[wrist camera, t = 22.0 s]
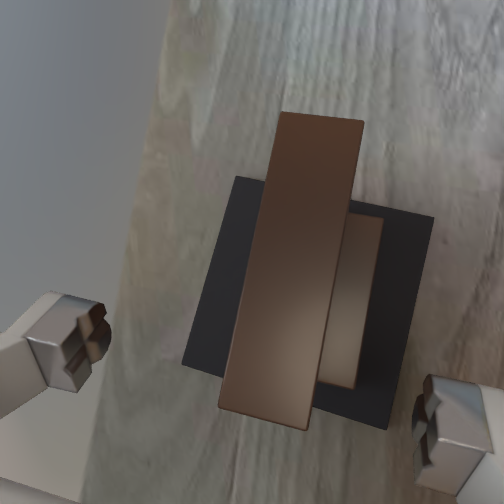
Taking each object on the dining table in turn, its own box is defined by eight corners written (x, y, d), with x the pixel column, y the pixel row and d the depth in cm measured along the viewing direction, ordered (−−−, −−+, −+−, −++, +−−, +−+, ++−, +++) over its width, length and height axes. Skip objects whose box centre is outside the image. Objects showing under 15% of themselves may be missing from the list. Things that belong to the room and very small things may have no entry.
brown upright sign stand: (353, 387, 17) (381, 452, 8) (236, 359, 18) (152, 391, 9) (381, 223, 18) (434, 126, 9) (269, 205, 19) (220, 103, 10)
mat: (385, 428, 17) (386, 430, 17) (183, 363, 19) (180, 364, 18) (432, 219, 18) (434, 217, 18) (237, 178, 20) (235, 175, 20)
